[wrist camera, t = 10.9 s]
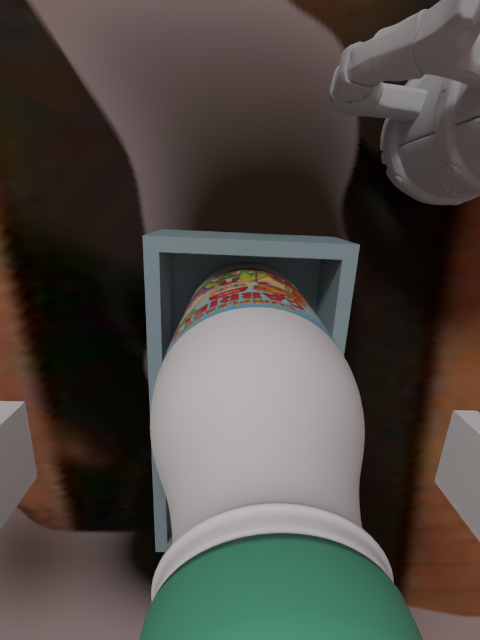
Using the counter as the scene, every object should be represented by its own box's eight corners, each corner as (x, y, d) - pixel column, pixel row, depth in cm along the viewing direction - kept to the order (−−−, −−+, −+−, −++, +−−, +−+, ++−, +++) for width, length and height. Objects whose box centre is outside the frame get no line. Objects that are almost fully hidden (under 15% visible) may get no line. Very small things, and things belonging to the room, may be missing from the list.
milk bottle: (322, 336, 24) (641, 810, 5) (227, 387, 25) (199, 930, 6) (268, 237, 22) (469, 424, 3) (167, 298, 23) (-145, 706, 4)
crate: (168, 495, 29) (155, 551, 24) (162, 229, 22) (142, 235, 18) (301, 498, 29) (314, 554, 25) (334, 236, 23) (360, 244, 18)
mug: (469, 218, 23) (709, 230, 11) (293, 171, 22) (358, 131, 10) (526, 85, 20) (900, -72, 9) (332, 25, 19) (472, -239, 8)
